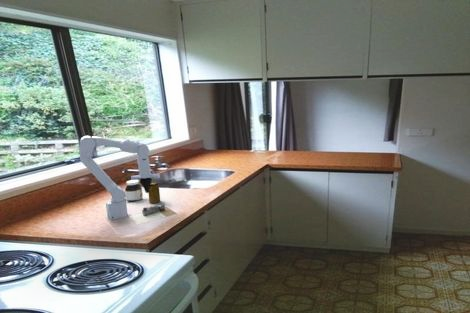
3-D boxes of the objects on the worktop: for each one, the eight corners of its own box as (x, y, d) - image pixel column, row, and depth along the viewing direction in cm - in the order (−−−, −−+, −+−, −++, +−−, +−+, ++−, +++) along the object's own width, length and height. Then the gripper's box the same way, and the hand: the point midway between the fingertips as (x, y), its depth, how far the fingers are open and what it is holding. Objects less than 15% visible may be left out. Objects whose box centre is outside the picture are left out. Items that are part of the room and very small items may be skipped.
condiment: (150, 202, 183) (147, 182, 181) (165, 201, 184) (163, 181, 182) (147, 206, 176) (145, 185, 174) (163, 205, 177) (161, 184, 175)
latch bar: (163, 208, 168) (162, 202, 168) (166, 209, 166) (165, 203, 165) (142, 214, 161) (141, 207, 160) (145, 215, 159) (144, 209, 158)
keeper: (145, 213, 163) (145, 208, 162) (144, 212, 164) (144, 207, 164) (153, 211, 165) (153, 206, 164) (152, 210, 166) (151, 206, 166)
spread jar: (136, 203, 182) (134, 183, 180) (118, 203, 185) (116, 183, 183) (146, 196, 194) (144, 178, 192) (129, 196, 196) (127, 178, 194)
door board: (138, 226, 149) (137, 224, 149) (129, 218, 160) (129, 216, 160) (177, 215, 160) (177, 213, 160) (167, 208, 171) (166, 206, 171)
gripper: (160, 164, 167) (163, 189, 170) (132, 165, 168) (136, 190, 171) (156, 167, 161) (159, 193, 163) (128, 169, 161) (131, 194, 164)
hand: (147, 192), depth 167 cm, fingers closed
